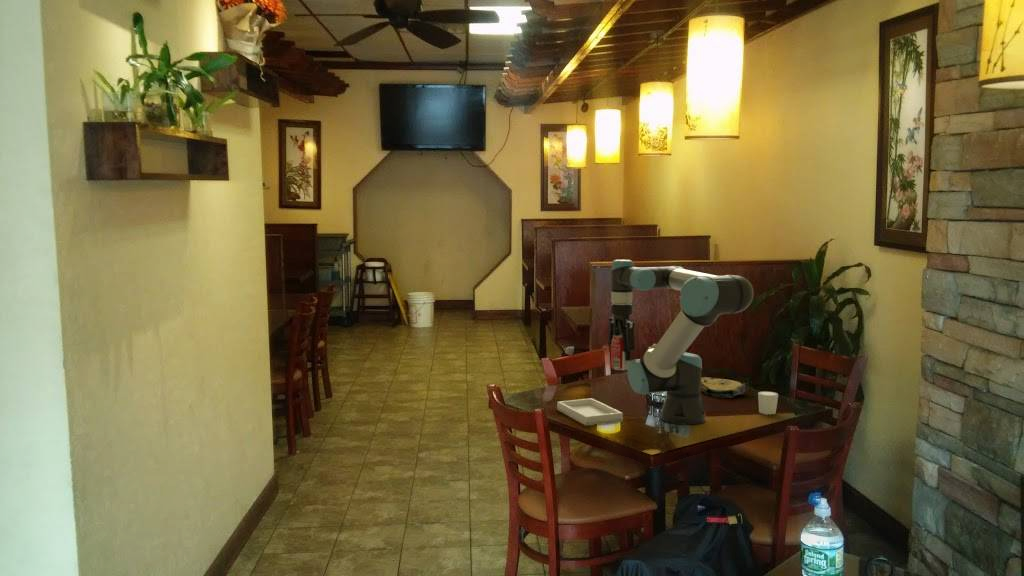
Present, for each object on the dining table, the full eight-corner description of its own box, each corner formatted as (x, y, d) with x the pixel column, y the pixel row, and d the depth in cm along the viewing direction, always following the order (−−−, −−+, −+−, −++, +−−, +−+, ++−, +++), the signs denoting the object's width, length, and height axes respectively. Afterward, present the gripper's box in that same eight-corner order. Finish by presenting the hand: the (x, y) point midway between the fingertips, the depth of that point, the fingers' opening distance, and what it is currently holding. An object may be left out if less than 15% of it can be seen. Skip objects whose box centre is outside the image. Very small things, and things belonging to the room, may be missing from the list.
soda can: (631, 367, 300) (631, 334, 298) (630, 371, 293) (630, 337, 291) (611, 366, 301) (611, 333, 299) (610, 370, 294) (610, 336, 293)
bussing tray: (622, 421, 283) (622, 412, 283) (586, 425, 278) (586, 416, 277) (591, 406, 303) (591, 398, 303) (557, 409, 298) (557, 401, 297)
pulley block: (692, 366, 343) (754, 380, 320) (693, 380, 344) (755, 394, 321) (670, 376, 334) (731, 390, 311) (671, 390, 336) (732, 405, 312)
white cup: (780, 415, 293) (781, 395, 292) (761, 415, 292) (762, 395, 291) (773, 409, 299) (773, 390, 299) (754, 410, 299) (755, 391, 298)
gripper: (645, 306, 287) (644, 371, 289) (616, 299, 305) (615, 361, 307) (627, 307, 284) (625, 373, 286) (598, 300, 302) (598, 363, 304)
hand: (620, 367), depth 297 cm, fingers closed on soda can, 7 cm apart
